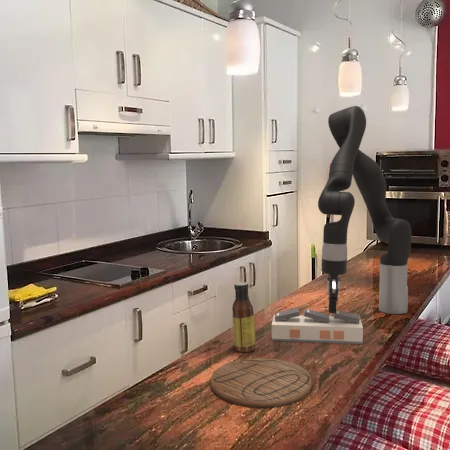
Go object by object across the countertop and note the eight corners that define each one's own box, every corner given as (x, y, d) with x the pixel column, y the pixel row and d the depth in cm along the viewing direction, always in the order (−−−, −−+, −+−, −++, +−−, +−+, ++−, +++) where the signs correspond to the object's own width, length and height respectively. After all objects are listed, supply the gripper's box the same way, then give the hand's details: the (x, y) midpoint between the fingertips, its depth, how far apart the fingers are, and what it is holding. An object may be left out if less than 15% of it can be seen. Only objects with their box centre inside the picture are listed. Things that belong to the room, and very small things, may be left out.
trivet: (190, 386, 130) (190, 378, 130) (257, 357, 147) (257, 350, 147) (265, 420, 112) (265, 412, 112) (331, 383, 130) (331, 376, 129)
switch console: (359, 332, 164) (359, 317, 164) (362, 344, 154) (363, 328, 154) (274, 329, 169) (274, 314, 168) (271, 340, 159) (271, 325, 158)
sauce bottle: (257, 346, 154) (256, 281, 152) (252, 354, 148) (250, 286, 146) (236, 344, 156) (235, 280, 154) (230, 351, 151) (228, 285, 148)
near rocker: (357, 320, 161) (358, 314, 161) (358, 324, 157) (359, 318, 157) (332, 315, 162) (334, 309, 162) (333, 319, 158) (334, 313, 158)
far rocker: (300, 313, 164) (298, 307, 163) (299, 317, 160) (298, 311, 159) (276, 318, 165) (275, 313, 165) (276, 322, 161) (274, 317, 161)
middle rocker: (327, 320, 162) (329, 314, 162) (327, 324, 158) (329, 318, 158) (303, 313, 163) (305, 307, 163) (303, 317, 159) (305, 311, 159)
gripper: (348, 262, 150) (346, 320, 153) (345, 253, 163) (343, 307, 166) (322, 261, 152) (320, 318, 154) (321, 252, 164) (319, 305, 167)
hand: (332, 312), depth 160 cm, fingers closed
